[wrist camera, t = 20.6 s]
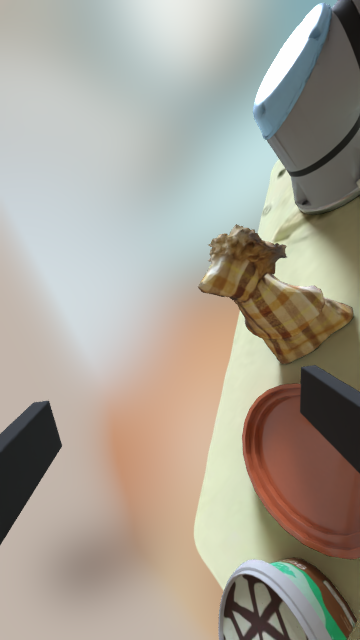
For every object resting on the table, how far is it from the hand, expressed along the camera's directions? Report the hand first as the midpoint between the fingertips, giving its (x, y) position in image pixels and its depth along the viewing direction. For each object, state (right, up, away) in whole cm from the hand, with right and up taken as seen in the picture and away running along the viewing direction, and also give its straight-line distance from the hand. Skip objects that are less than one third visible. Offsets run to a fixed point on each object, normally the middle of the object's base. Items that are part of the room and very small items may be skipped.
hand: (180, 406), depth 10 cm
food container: (+15, -28, +14) cm, 34 cm away
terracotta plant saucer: (+18, -15, +18) cm, 29 cm away
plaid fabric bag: (+22, +4, +26) cm, 34 cm away
